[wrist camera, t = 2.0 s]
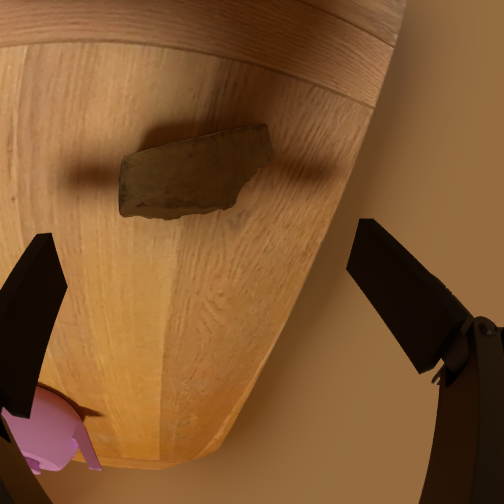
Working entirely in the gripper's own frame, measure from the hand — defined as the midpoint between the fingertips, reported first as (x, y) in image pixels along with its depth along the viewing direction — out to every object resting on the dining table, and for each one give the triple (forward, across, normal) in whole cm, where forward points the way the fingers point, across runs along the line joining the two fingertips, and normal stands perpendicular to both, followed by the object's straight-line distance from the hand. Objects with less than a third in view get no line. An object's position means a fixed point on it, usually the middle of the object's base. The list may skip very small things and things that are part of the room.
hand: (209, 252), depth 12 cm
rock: (+11, 0, +1) cm, 11 cm away
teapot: (+11, -27, -33) cm, 44 cm away
